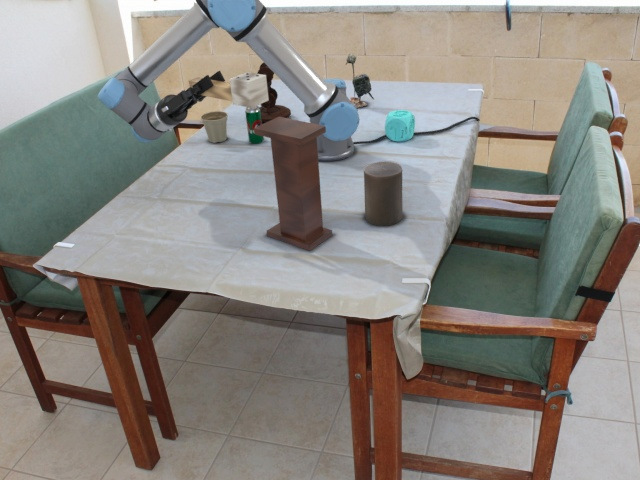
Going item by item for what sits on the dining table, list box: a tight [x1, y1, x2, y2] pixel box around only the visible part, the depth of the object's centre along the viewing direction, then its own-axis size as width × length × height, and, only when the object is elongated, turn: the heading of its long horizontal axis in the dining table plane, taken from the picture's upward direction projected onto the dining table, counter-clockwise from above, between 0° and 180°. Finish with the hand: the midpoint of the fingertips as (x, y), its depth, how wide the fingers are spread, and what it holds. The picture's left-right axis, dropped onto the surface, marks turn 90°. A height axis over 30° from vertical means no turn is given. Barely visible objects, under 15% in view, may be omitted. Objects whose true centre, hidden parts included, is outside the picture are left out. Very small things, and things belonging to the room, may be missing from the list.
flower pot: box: [199, 110, 229, 144], centre depth 221 cm, size 9×9×9 cm
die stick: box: [188, 71, 269, 108], centre depth 154 cm, size 22×6×6 cm, turn 52°
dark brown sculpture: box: [256, 62, 292, 123], centre depth 233 cm, size 15×15×20 cm
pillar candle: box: [363, 161, 404, 227], centre depth 164 cm, size 10×10×15 cm
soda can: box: [244, 105, 265, 145], centre depth 216 cm, size 5×5×12 cm
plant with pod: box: [345, 52, 375, 109], centre depth 239 cm, size 8×11×20 cm
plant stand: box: [254, 117, 333, 252], centre depth 155 cm, size 14×9×28 cm, turn 52°
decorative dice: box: [384, 109, 416, 142], centre depth 212 cm, size 8×8×8 cm
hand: (215, 78), depth 155 cm, fingers closed on die stick, 3 cm apart
